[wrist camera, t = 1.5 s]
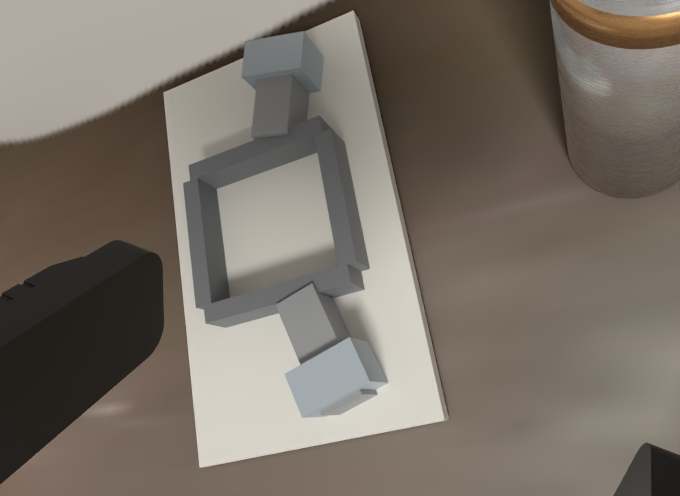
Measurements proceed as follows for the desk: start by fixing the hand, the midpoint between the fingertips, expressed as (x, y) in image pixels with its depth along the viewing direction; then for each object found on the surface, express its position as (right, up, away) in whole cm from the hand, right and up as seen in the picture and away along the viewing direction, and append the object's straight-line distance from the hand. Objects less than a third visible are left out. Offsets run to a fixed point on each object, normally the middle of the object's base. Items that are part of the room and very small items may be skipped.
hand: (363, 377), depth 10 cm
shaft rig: (-3, +3, +19) cm, 19 cm away
